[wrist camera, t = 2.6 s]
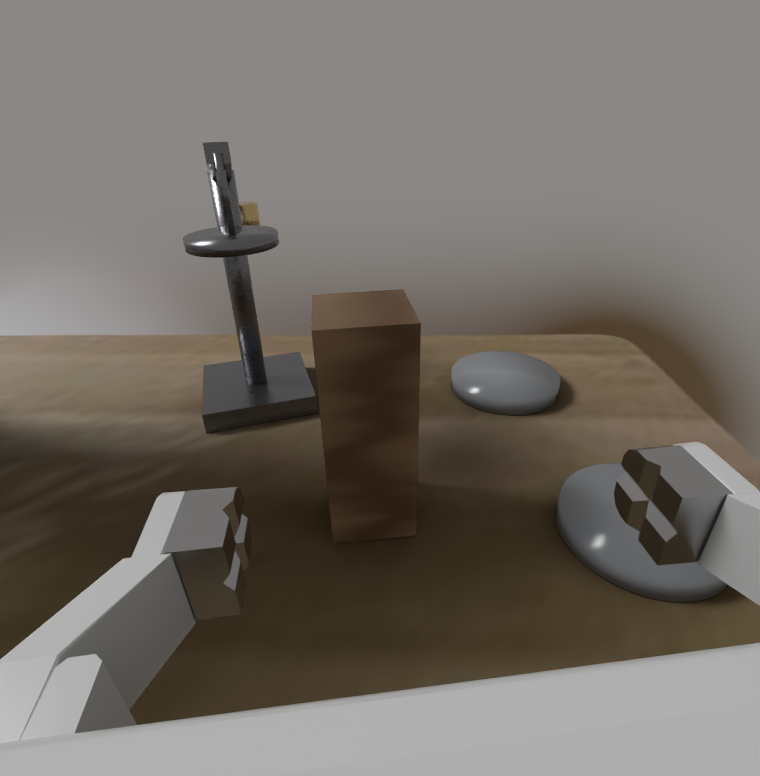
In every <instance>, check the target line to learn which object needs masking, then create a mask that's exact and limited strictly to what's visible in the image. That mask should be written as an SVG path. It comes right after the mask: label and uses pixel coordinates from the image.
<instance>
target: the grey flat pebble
mask: <svg viewBox="0 0 760 776" xmlns="http://www.w3.org/2000/svg"><path fill="white" fill-rule="evenodd" d="M559 387H560V376H559V374H558V372H557V371H556V370H555V369H554V368H553V367H552V366H550V365H549V364H547V363H546V362H544V361H542V360H540V359H537V358H534V357H532V356H528V355H525V354H520V353H514V352H506V351H487V352H479V353H474V354H471V355H468V356H465V357H463V358H461V359H460V360H458V361H457V362H456V363H455V364H454V365H453V367H452V374H451V389H452V391H453V393H454V394H455V395H456V396H457V397H458V398H459V399H460V400H461V401H463V402H464V403H466V404H468V405H469V406H472V407H474V408H476V409H479V410H482V411H486V412H490V413H495V414H502V415H525V414H532V413H536V412H539V411H542V410H545V409H547V408H549V407H550V406H551V405H553V404H554V402H555V401H556V399H557V397H558V392H559Z"/></svg>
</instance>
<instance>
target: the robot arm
mask: <svg viewBox="0 0 760 776" xmlns="http://www.w3.org/2000/svg"><path fill="white" fill-rule="evenodd" d="M621 465H622V467H623V469H624V470H625V473H624V474H623V475H622V476H621V477H620V478H619V479H618V480H617V481H616V485H615V490H614V498H615V505H616V508H617V510H618V512H619V515H620V516H621V518H622V519H623V520H624V522H625V523H626V524H627V525H629V526H631V527H632V528H634V529H636V530H638V531H639V537H638V541H639V542H640V543H641V545H642V546H643V547H644V549H645V550H646V551H647V553H648V554H649V555H650V557H651V558H652V559H653V561H654V562H655V563H656V564H657V566H658V565H669V564H681V563H692V562H698V565H699V566H701V567H702V568H704V569H705V570H707V571H708V572H710V573H711V574H713V575H714V576H716V577H717V578H719V579H720V580H722V581H723V582H725V583H726V584H728V585H729V586H731V587H732V588H734V589H735V590H737V591H738V592H740V593H741V594H743V595H744V596H746V597H747V598H749V599H750V600H752V601H753V602H755V603H756V604H758V605H759V606H760V491H759V490H758V489H757V488H755V487H754V486H753V485H752V484H751V483H749V482H748V481H747V480H746V479H745V478H744V477H742V476H741V475H740V474H739V473H738V472H737V471H735V470H734V469H733V468H732V467H731V466H730V465H728V464H727V463H726V462H725V461H724V460H723V459H721V458H720V457H719V456H718V455H717V454H716V453H714V452H713V451H712V450H711V449H710V448H708V447H707V446H706V445H704V444H702V443H699V442H690V443H682V444H674V445H668V446H659V447H649V448H639V449H629V450H628V451H627V452H626V453H625V455H624V457H623V460H622V463H621ZM243 504H244V500H243V496H242V493H241V489H240V488H238V487H230V488H216V489H203V490H189V491H181V492H168V493H162V494H160V495H159V496H158V497H157V498H156V501H155V503H154V505H153V508H152V510H151V512H150V515H149V517H148V519H147V522H146V524H145V526H144V529H143V531H142V533H141V536H140V538H139V540H138V543H137V545H136V548H135V550H134V552H133V555H132V557H131V558H124V559H122V560H121V561H120V562H118V563H117V564H116V565H115V566H113V567H112V568H111V569H110V570H109V571H107V572H106V573H105V574H104V575H102V576H101V577H100V578H99V579H98V580H96V581H95V582H94V583H93V584H92V585H90V586H89V587H88V588H87V589H85V590H84V591H83V592H82V593H81V594H79V595H78V596H77V597H76V598H74V599H73V600H72V601H71V602H70V603H68V604H67V605H66V606H65V607H64V608H62V609H61V610H60V611H59V612H57V613H56V614H55V615H54V616H53V617H51V618H50V619H49V620H48V621H46V622H45V623H44V624H43V625H42V626H40V627H39V628H38V629H37V630H36V631H34V632H33V633H32V634H31V635H29V636H28V637H27V638H26V639H25V640H23V641H22V642H21V643H20V644H18V645H17V646H16V647H15V648H14V649H12V650H11V651H10V652H9V653H8V654H6V655H5V656H4V657H3V658H1V659H0V776H760V643H754V644H746V645H739V646H731V647H724V648H716V649H709V650H701V651H694V652H686V653H678V654H671V655H663V656H656V657H648V658H641V659H633V660H626V661H618V662H611V663H603V664H596V665H588V666H581V667H573V668H566V669H558V670H551V671H543V672H536V673H528V674H521V675H513V676H506V677H498V678H491V679H483V680H475V681H468V682H460V683H452V684H445V685H437V686H429V687H422V688H414V689H407V690H399V691H391V692H384V693H376V694H368V695H361V696H353V697H346V698H338V699H330V700H323V701H315V702H307V703H300V704H292V705H285V706H277V707H270V708H262V709H255V710H247V711H239V712H232V713H224V714H217V715H209V716H202V717H194V718H187V719H179V720H172V721H164V722H156V723H149V724H141V725H137V724H136V722H135V720H134V718H133V717H132V715H131V713H130V711H129V710H130V708H131V707H132V706H133V704H134V703H135V702H136V701H137V699H138V698H139V697H140V695H141V694H142V693H143V691H144V690H145V689H146V687H147V686H148V685H149V684H150V682H151V681H152V680H153V678H154V677H155V676H156V674H157V673H158V672H159V671H160V669H161V668H162V667H163V665H164V664H165V663H166V661H167V660H168V659H169V658H170V656H171V655H172V654H173V652H174V651H175V650H176V648H177V647H178V646H179V644H180V643H181V642H182V641H183V639H184V638H185V637H186V635H187V634H188V633H189V631H190V630H191V629H192V628H193V626H194V625H195V624H196V623H195V621H196V620H203V619H210V618H217V617H224V616H231V615H238V614H241V612H242V606H243V600H244V594H245V588H246V582H245V577H244V573H243V571H244V570H245V569H246V568H247V567H248V565H249V562H250V554H251V534H250V526H249V522H248V518H247V517H246V516H244V515H243V514H242V510H243Z"/></svg>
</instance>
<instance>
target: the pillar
mask: <svg viewBox="0 0 760 776" xmlns="http://www.w3.org/2000/svg"><path fill="white" fill-rule="evenodd" d="M420 328H421V323H420V321H419V319H418V317H417V315H416V313H415V311H414V309H413V308H412V306H411V304H410V302H409V300H408V298H407V296H406V294H405V292H404V290H402V289H401V290H386V291H370V292H354V293H353V292H352V293H337V294H320V295H312V339H313V349H314V359H315V369H316V379H317V388H318V398H319V408H320V418H321V428H322V438H323V448H324V458H325V468H326V478H327V488H328V498H329V507H330V517H331V527H332V537H333V544H340V543H350V542H359V541H368V540H377V539H386V538H395V537H404V536H413V535H416V532H417V482H418V431H419V381H420V331H421V329H420Z"/></svg>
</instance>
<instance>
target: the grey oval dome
mask: <svg viewBox="0 0 760 776" xmlns="http://www.w3.org/2000/svg"><path fill="white" fill-rule="evenodd" d="M624 473H625V470H624V469H623V467H622V465H621V463H607V464H598V465H592V466H589V467H585V468H583V469H580V470H578V471H576V472H575V473H573V474H572V475H571V476H569V477H568V478H567V479H566V481H565V482H564V484H563V485H562V488H561V490H560V495H559V499H558V504H557V509H556V522H557V527H558V530H559V532H560V535H561V537H562V539H563V540H564V542H565V544H566V545H567V546H568V548H569V549H570V550H571V552H572V553H573V554H574V555H575V556H576V557H577V558H578V559H579V560H580V561H581V562H582V563H583V564H584V565H585V566H587V567H588V568H589V569H590V570H592V571H593V572H595V573H596V574H597V575H599V576H600V577H602V578H604V579H605V580H607V581H609V582H610V583H612V584H614V585H616V586H618V587H620V588H622V589H625V590H627V591H630V592H632V593H635V594H638V595H641V596H645V597H648V598H652V599H657V600H662V601H671V602H693V601H700V600H704V599H708V598H710V597H713V596H715V595H717V594H719V593H720V592H722V591H723V590H724V589H725V588H726V587H727V586H728V584H726V583H725V582H723V581H722V580H720V579H719V578H717V577H716V576H714V575H713V574H711V573H710V572H708V571H707V570H705V569H704V568H702V567H701V566H699V565H698V562H692V563H681V564H669V565H658V566H657V564H656V563H655V562H654V561H653V559H652V558H651V557H650V555H649V554H648V553H647V551H646V550H645V549H644V547H643V546H642V545H641V543H640V542H639V541H638V537H639V531H638V530H636V529H634V528H632V527H631V526H629V525H627V524H626V523H625V522H624V520H623V519H622V518H621V516H620V515H619V512H618V510H617V508H616V505H615V498H614V490H615V485H616V481H617V480H618V479H619V478H620V477H621V476H622V475H623V474H624Z"/></svg>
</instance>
